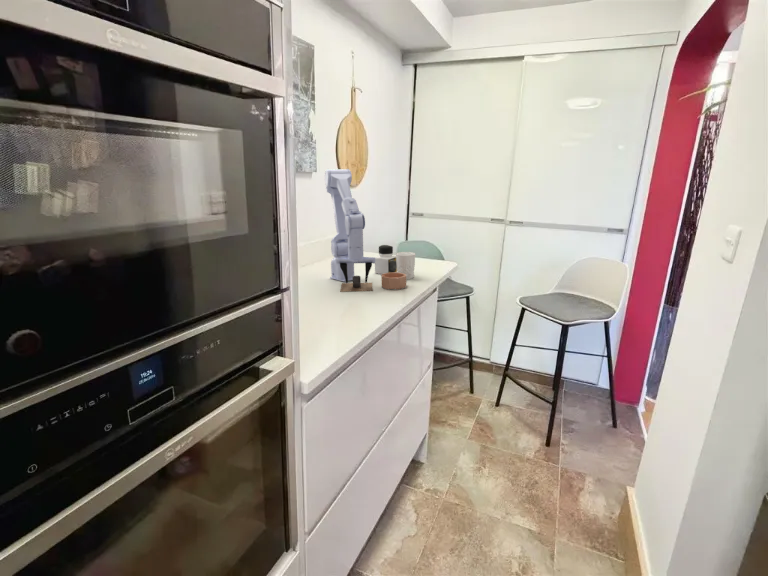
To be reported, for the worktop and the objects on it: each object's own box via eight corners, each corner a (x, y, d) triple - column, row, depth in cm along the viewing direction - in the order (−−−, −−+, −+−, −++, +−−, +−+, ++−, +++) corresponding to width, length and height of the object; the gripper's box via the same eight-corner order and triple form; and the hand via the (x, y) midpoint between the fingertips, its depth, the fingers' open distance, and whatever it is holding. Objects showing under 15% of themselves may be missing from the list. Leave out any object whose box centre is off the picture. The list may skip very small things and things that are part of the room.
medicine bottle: (388, 275, 181) (388, 247, 177) (374, 273, 184) (374, 246, 181) (397, 272, 186) (397, 244, 183) (383, 270, 190) (383, 243, 187)
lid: (340, 293, 157) (339, 280, 155) (341, 285, 168) (341, 273, 167) (372, 292, 157) (372, 280, 156) (372, 284, 169) (372, 272, 167)
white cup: (415, 275, 180) (415, 252, 177) (414, 279, 173) (414, 255, 170) (396, 275, 181) (396, 251, 178) (395, 279, 173) (395, 255, 171)
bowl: (376, 286, 163) (376, 275, 162) (392, 282, 169) (392, 271, 168) (394, 290, 157) (394, 279, 155) (410, 286, 163) (410, 274, 162)
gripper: (335, 248, 154) (336, 285, 158) (375, 248, 155) (375, 284, 158) (336, 245, 161) (338, 280, 165) (374, 244, 162) (375, 279, 165)
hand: (356, 282), depth 162 cm, fingers open, 7 cm apart
